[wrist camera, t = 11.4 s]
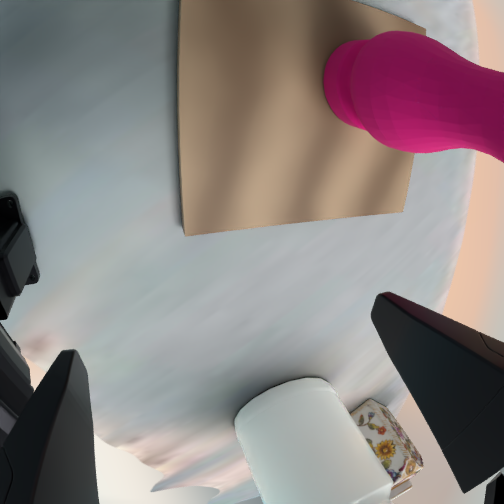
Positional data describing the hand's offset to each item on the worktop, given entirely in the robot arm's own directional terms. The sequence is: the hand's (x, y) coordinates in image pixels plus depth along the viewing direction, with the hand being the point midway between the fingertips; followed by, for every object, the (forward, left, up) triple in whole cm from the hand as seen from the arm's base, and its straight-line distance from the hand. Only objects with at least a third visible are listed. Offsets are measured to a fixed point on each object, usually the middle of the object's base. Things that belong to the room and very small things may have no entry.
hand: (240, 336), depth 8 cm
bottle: (+10, -30, -13) cm, 34 cm away
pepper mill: (+12, +7, -12) cm, 18 cm away
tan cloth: (+9, +5, -13) cm, 17 cm away
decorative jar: (+26, -45, -13) cm, 54 cm away
